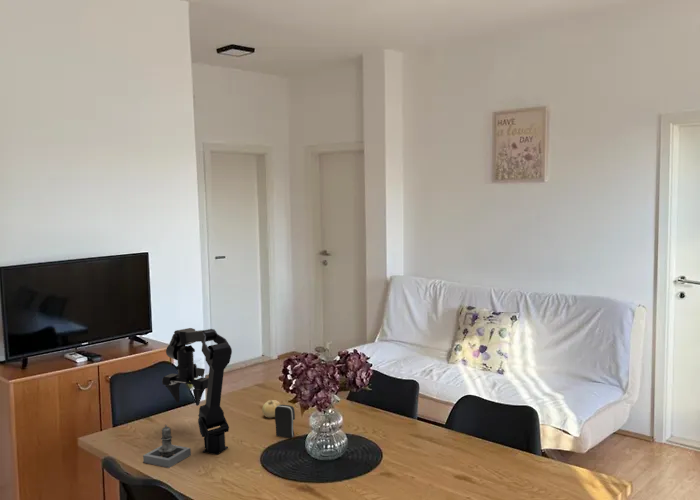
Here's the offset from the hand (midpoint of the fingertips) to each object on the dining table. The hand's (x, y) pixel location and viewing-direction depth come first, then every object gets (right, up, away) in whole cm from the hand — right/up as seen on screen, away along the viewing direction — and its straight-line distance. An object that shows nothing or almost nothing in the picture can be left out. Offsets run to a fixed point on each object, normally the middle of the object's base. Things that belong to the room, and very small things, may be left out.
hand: (187, 403), depth 241 cm
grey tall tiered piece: (-2, -14, -20) cm, 24 cm away
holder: (-2, -14, -20) cm, 24 cm away
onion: (+29, -10, +19) cm, 36 cm away
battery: (+37, -11, -2) cm, 38 cm away
